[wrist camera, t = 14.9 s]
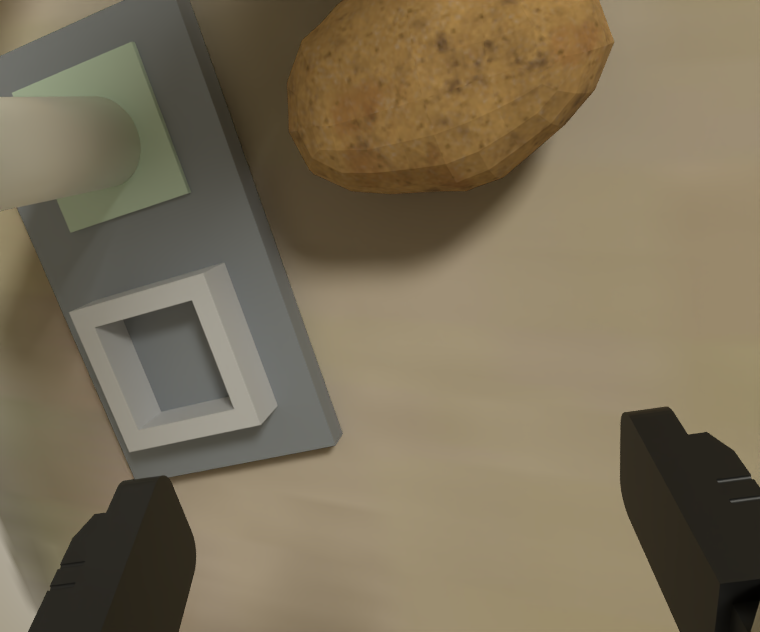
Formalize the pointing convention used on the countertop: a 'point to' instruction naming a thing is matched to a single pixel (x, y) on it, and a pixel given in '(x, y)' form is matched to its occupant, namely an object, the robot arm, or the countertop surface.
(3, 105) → the ball
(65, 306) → the board
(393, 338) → the countertop surface
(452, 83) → the potato
